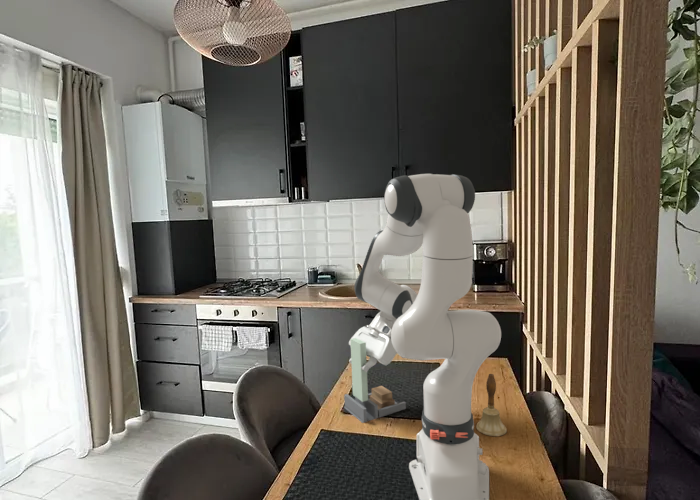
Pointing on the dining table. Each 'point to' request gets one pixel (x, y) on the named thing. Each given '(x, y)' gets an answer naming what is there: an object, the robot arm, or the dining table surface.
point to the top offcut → (381, 394)
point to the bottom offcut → (381, 405)
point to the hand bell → (491, 413)
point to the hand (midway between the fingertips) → (357, 366)
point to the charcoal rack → (369, 408)
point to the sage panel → (359, 369)
